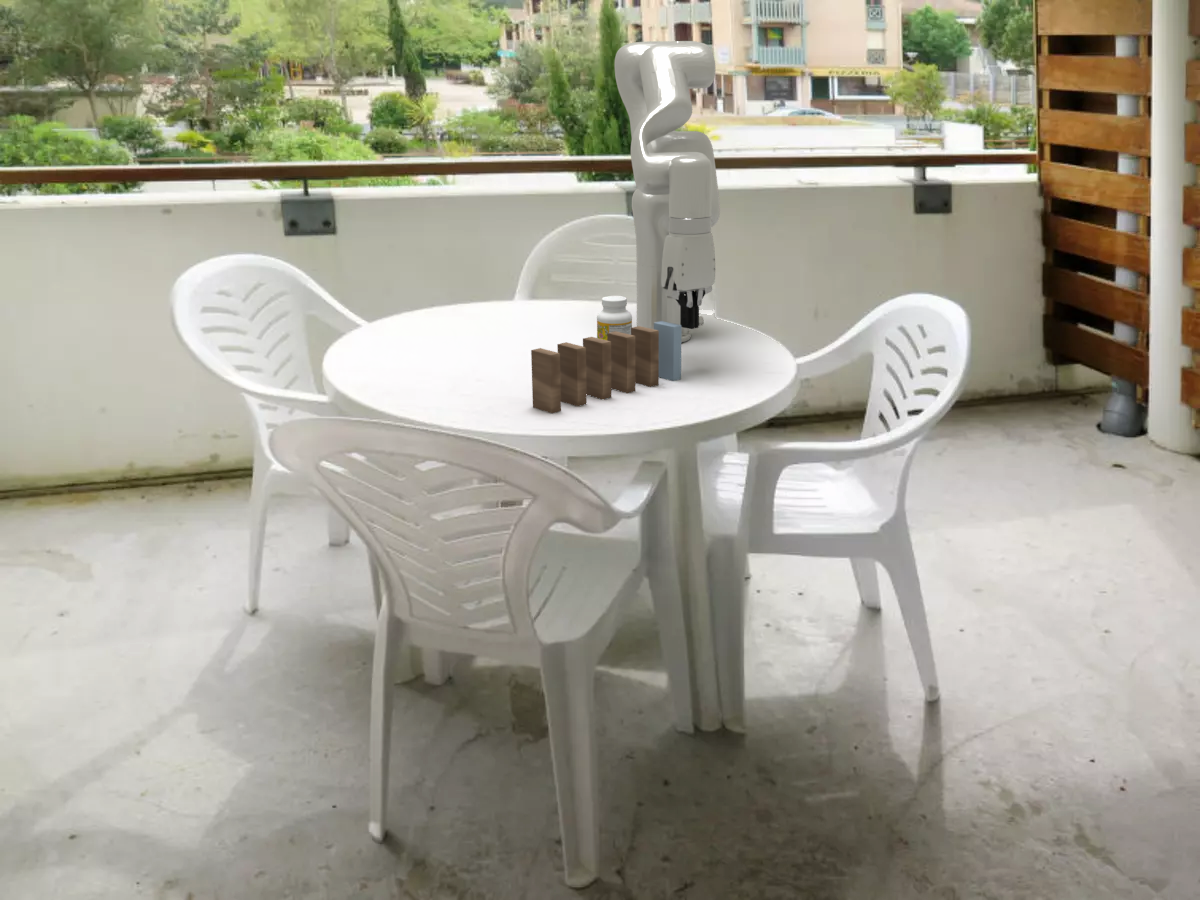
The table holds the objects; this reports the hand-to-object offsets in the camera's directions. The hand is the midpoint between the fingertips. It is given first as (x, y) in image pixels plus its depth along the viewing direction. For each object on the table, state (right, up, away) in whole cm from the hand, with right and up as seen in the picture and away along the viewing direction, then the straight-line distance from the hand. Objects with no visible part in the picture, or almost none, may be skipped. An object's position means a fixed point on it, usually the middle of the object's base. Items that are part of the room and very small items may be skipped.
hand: (689, 327), depth 238 cm
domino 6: (-4, -9, 0) cm, 10 cm away
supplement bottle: (-14, -6, +9) cm, 18 cm away
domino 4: (-13, -12, -8) cm, 19 cm away
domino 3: (-17, -13, -11) cm, 24 cm away
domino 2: (-21, -14, -15) cm, 30 cm away
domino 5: (-8, -11, -4) cm, 14 cm away
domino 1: (-25, -16, -19) cm, 35 cm away
